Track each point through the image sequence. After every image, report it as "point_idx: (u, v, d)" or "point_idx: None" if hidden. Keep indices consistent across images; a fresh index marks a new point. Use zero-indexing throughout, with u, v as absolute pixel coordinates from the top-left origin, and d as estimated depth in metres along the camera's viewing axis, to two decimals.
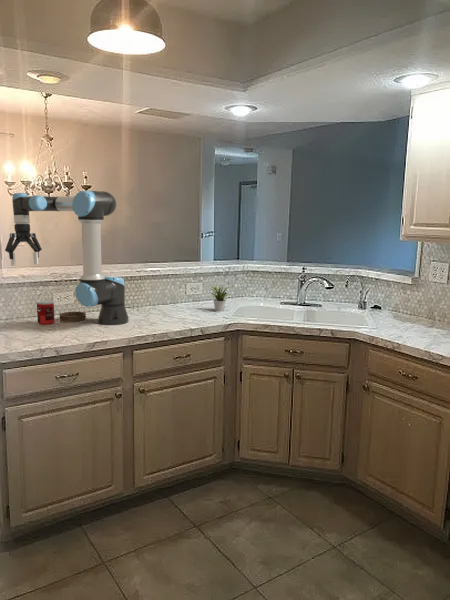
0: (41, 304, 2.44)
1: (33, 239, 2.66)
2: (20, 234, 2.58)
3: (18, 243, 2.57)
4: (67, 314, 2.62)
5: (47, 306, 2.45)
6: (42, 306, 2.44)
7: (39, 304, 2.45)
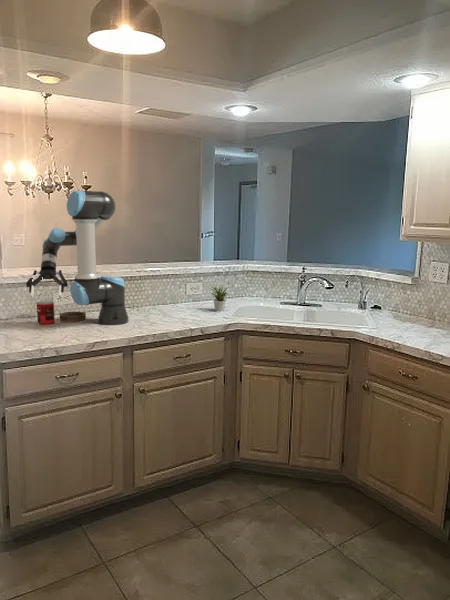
0: (41, 304, 2.44)
1: (60, 276, 2.63)
2: (43, 271, 2.62)
3: (39, 278, 2.59)
4: (67, 314, 2.62)
5: (47, 306, 2.45)
6: (42, 306, 2.44)
7: (39, 304, 2.45)
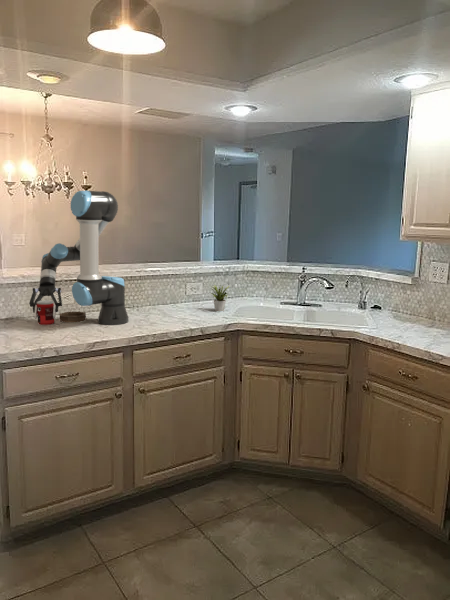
0: (41, 304, 2.44)
1: None
2: (42, 287, 2.54)
3: (40, 295, 2.51)
4: (67, 314, 2.62)
5: (47, 306, 2.45)
6: (42, 306, 2.44)
7: (39, 304, 2.45)
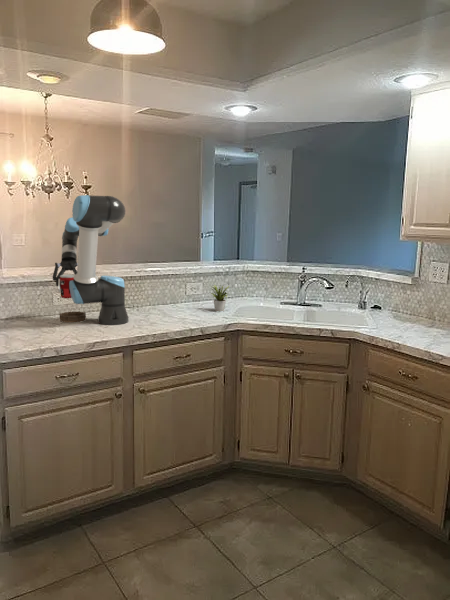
0: (64, 277, 2.50)
1: None
2: (64, 262, 2.60)
3: (63, 270, 2.57)
4: (67, 314, 2.62)
5: (70, 279, 2.51)
6: (65, 279, 2.50)
7: (62, 277, 2.50)
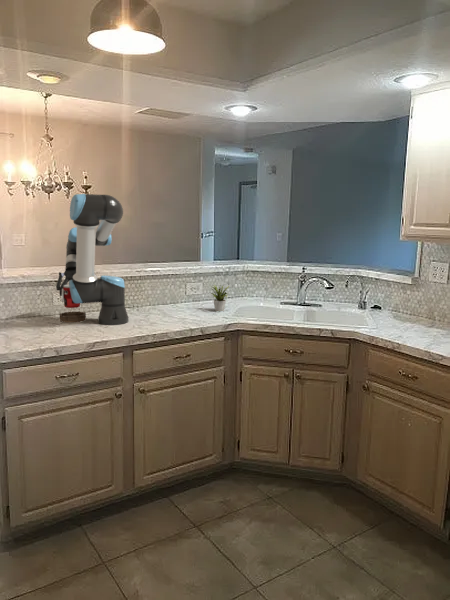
0: (68, 287, 2.53)
1: None
2: (67, 271, 2.62)
3: (66, 279, 2.59)
4: (67, 314, 2.62)
5: None
6: (69, 289, 2.53)
7: (66, 287, 2.53)
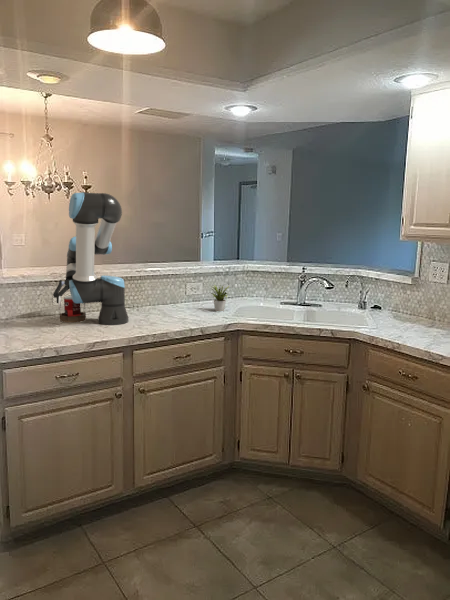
0: (68, 299, 2.53)
1: None
2: (68, 280, 2.63)
3: (65, 288, 2.60)
4: None
5: None
6: (69, 301, 2.53)
7: (66, 299, 2.54)
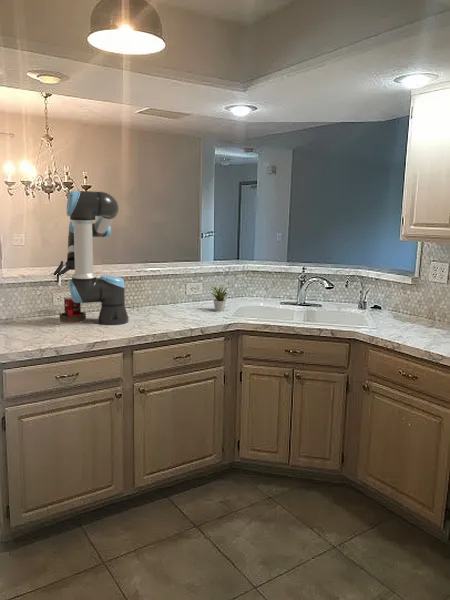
0: (69, 299, 2.53)
1: None
2: (69, 262, 2.72)
3: (66, 268, 2.69)
4: None
5: None
6: (69, 301, 2.53)
7: (67, 299, 2.54)
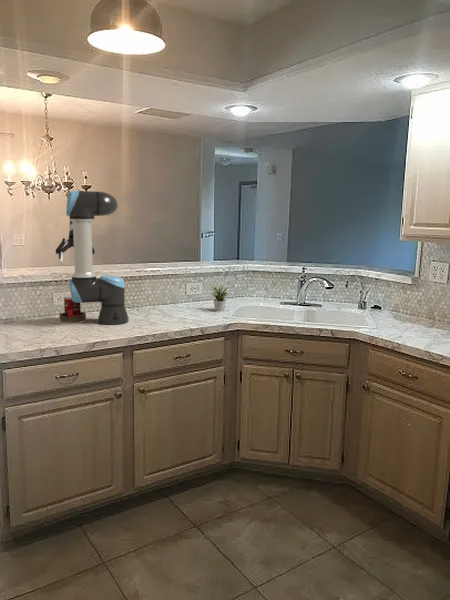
0: (68, 299, 2.53)
1: None
2: (71, 239, 2.76)
3: (67, 245, 2.73)
4: None
5: None
6: (69, 301, 2.53)
7: (66, 299, 2.54)
